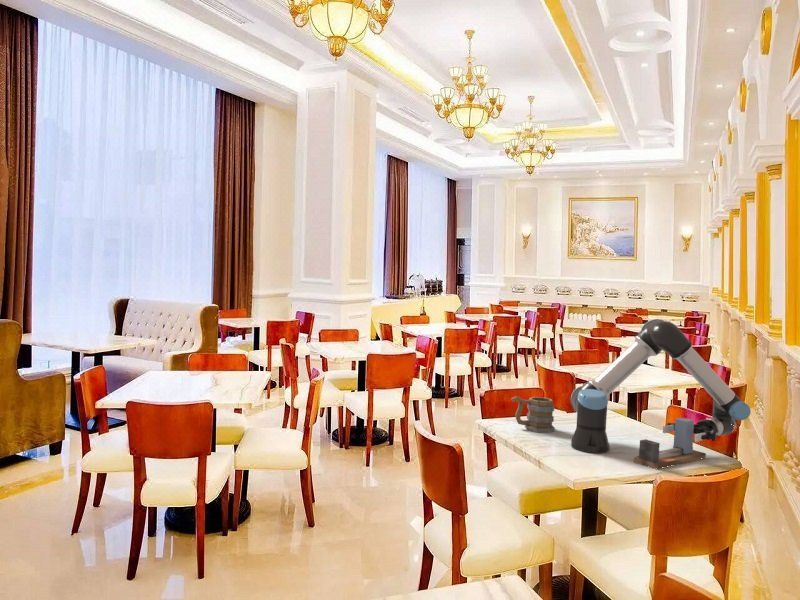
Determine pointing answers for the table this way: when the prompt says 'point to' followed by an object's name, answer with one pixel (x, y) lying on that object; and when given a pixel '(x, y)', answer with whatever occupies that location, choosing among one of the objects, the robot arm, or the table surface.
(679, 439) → the sleeve
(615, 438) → the table surface
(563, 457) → the table surface
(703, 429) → the robot arm
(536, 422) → the tankard
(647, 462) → the rail board
